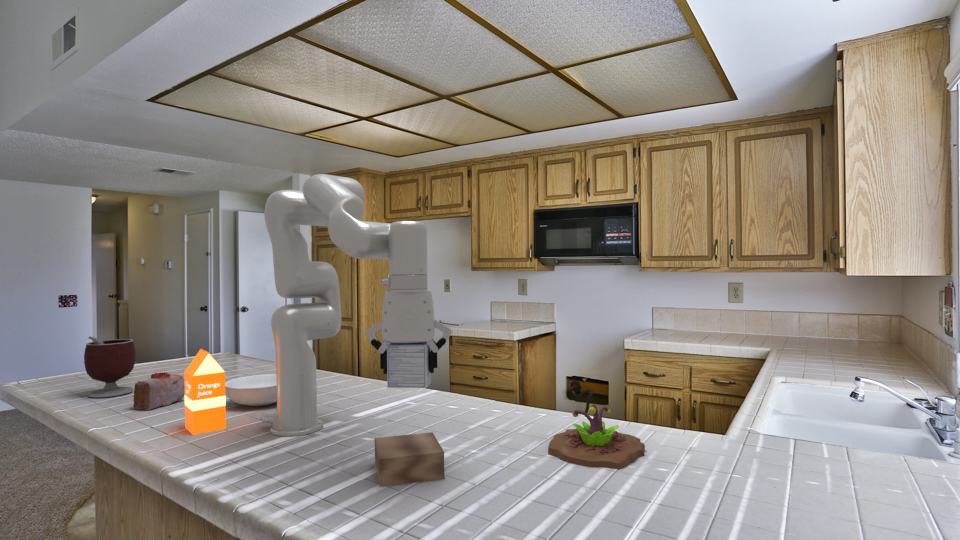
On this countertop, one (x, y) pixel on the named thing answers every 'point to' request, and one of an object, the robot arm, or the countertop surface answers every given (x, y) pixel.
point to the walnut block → (408, 459)
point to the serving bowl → (252, 390)
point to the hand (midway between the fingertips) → (409, 371)
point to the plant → (596, 444)
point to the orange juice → (204, 395)
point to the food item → (158, 391)
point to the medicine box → (408, 365)
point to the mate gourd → (109, 364)
